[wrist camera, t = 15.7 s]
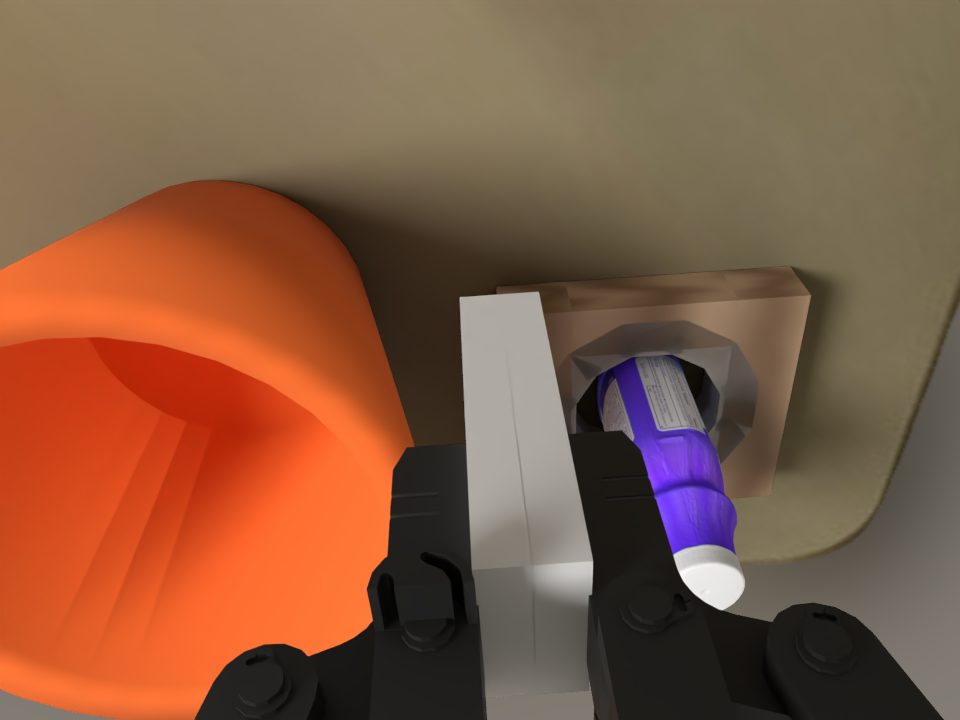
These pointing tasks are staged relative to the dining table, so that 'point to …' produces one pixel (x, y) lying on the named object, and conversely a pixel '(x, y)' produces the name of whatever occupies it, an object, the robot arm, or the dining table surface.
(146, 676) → the flowerpot
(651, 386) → the bottle
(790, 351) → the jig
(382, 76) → the dining table surface
